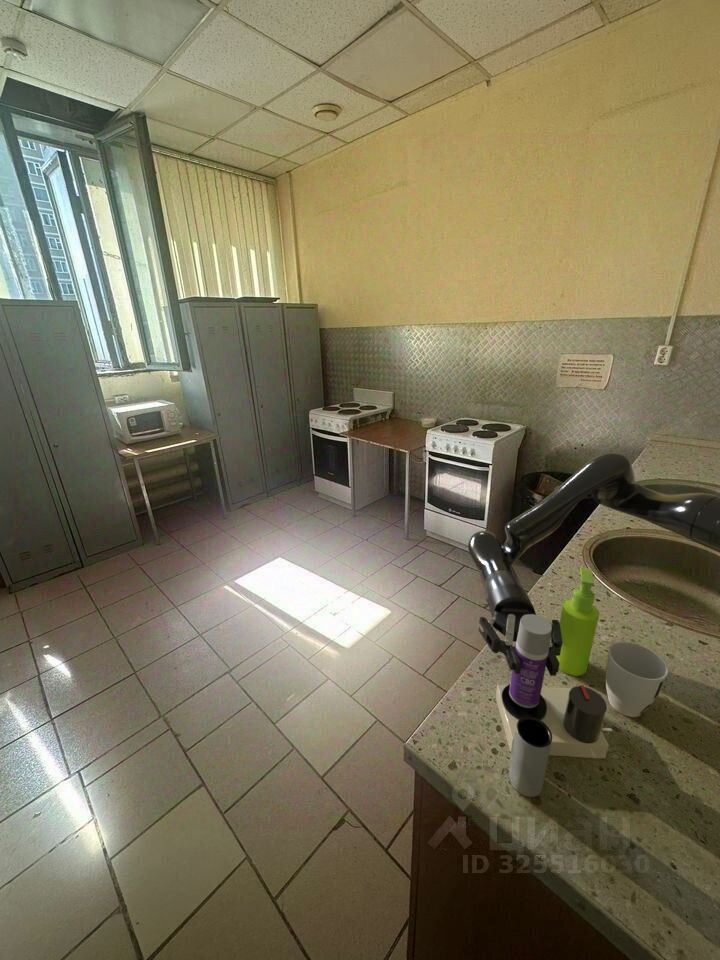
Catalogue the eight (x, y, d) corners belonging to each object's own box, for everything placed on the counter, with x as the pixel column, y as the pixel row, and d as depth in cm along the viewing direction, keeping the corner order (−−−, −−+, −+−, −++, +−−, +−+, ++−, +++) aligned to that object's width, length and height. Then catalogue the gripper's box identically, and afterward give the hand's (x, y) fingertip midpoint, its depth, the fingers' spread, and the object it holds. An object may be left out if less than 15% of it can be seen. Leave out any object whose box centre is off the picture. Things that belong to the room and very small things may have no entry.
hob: (586, 701, 69) (589, 688, 68) (623, 774, 58) (628, 759, 57) (495, 697, 70) (497, 684, 69) (514, 767, 59) (516, 752, 58)
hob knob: (605, 745, 59) (613, 715, 57) (569, 741, 59) (576, 711, 57) (591, 715, 63) (598, 686, 61) (558, 712, 64) (564, 683, 62)
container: (516, 709, 63) (527, 636, 58) (504, 684, 68) (514, 614, 62) (544, 707, 63) (559, 634, 58) (531, 682, 68) (543, 612, 62)
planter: (531, 762, 60) (540, 713, 56) (548, 794, 56) (559, 744, 52) (503, 767, 59) (510, 718, 56) (518, 800, 55) (527, 750, 51)
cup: (654, 734, 63) (670, 688, 60) (597, 711, 67) (608, 666, 64) (651, 696, 70) (665, 652, 66) (599, 677, 74) (609, 635, 70)
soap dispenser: (585, 653, 79) (604, 569, 72) (587, 679, 73) (608, 590, 66) (553, 645, 82) (568, 562, 74) (552, 669, 76) (569, 582, 69)
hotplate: (538, 686, 69) (538, 684, 69) (553, 723, 62) (553, 721, 62) (497, 684, 69) (497, 682, 69) (507, 721, 63) (507, 718, 63)
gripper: (470, 581, 75) (490, 649, 59) (548, 583, 74) (590, 654, 58) (467, 613, 78) (486, 686, 62) (542, 615, 76) (581, 691, 61)
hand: (536, 670), depth 60 cm, fingers closed on container, 4 cm apart
